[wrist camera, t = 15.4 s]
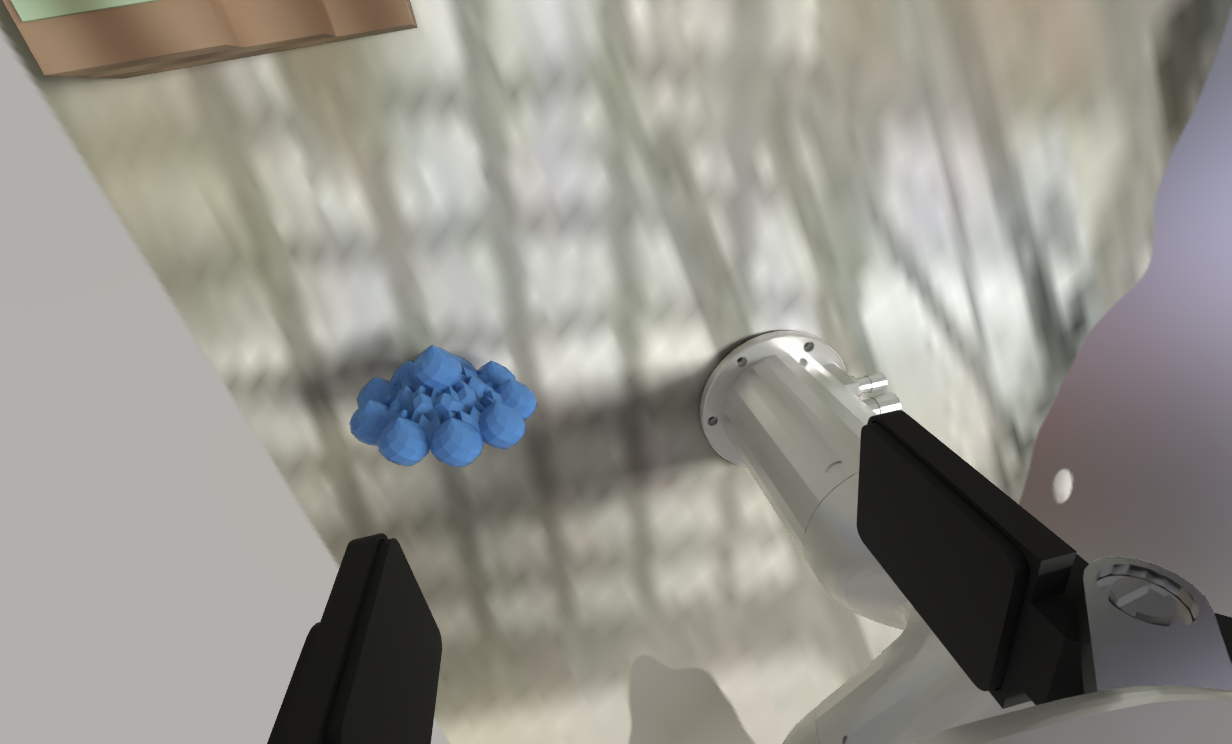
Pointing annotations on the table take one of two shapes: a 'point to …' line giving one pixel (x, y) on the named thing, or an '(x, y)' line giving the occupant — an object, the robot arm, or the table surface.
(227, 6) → the step riser
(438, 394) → the grapes
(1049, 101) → the table surface
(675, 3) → the table surface
